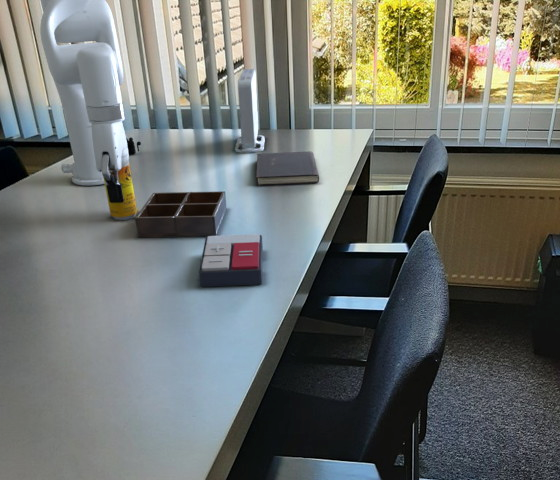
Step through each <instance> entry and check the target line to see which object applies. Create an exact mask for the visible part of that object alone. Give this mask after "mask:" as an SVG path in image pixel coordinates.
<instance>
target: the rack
mask: <svg viewBox="0 0 560 480" xmlns="http://www.w3.org/2000/svg"><path fill="white" fill-rule="evenodd" d="M227 209H228V208H227V198H226V191H222V190H221V191H172V192H171V191H170V192H152V193H151V195H150V197H148V199H147V201H146V202H145V203H144V205H143V206H142V208H141V209H140V211H138V212H137V214H136V216H135V217H134V221H135V226H136V232H137V237H138V238H189V237H190V238H191V237H193V238H195V237H203V238H204V237H208V236H218V234H219V230H220V228H221V225H222V223H223V220H224V217H225V215H226V212H227Z"/></svg>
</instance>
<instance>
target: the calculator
mask: <svg viewBox="0 0 560 480" xmlns="http://www.w3.org/2000/svg"><path fill="white" fill-rule="evenodd" d="M263 247H264V246H263V236H262V234H259V233H250V234H248V233H247V234H221V235H217V236H205V239H204V244H203V249H202V250H203V251H202V256H201V260H200V266H199V271H198V273H199V283H200V287H202V288H212V287H236V286H237V287H238V286H261V285H262V284H263V259H264V248H263Z"/></svg>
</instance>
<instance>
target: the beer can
mask: <svg viewBox="0 0 560 480" xmlns="http://www.w3.org/2000/svg"><path fill="white" fill-rule="evenodd" d="M121 162H122V165H121V169H120V170H119V171H118V172H119V184H121V186H122V192H123V197H124V202H123V203H110V202H109V197H108V192H107V186H106V184H104V188H105V193H106V199H107V203H108V208H109V213H110V216H111V217H112V218H113V219H114V220H116V221H126V220H130V219H134V218H135V217H136V216H137V214H138V207H137V201H136V196H135V189H134V183H133V179H132V173H131V166H130V165H131V164H130V159H129V160H128V154H127V152H126V150H125V148H124V150H122V155H121ZM114 168H115V167H110V170H114ZM111 175H113V176H114V178H115V173H111ZM103 178H104V176H103ZM104 183H105V179H104Z"/></svg>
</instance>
